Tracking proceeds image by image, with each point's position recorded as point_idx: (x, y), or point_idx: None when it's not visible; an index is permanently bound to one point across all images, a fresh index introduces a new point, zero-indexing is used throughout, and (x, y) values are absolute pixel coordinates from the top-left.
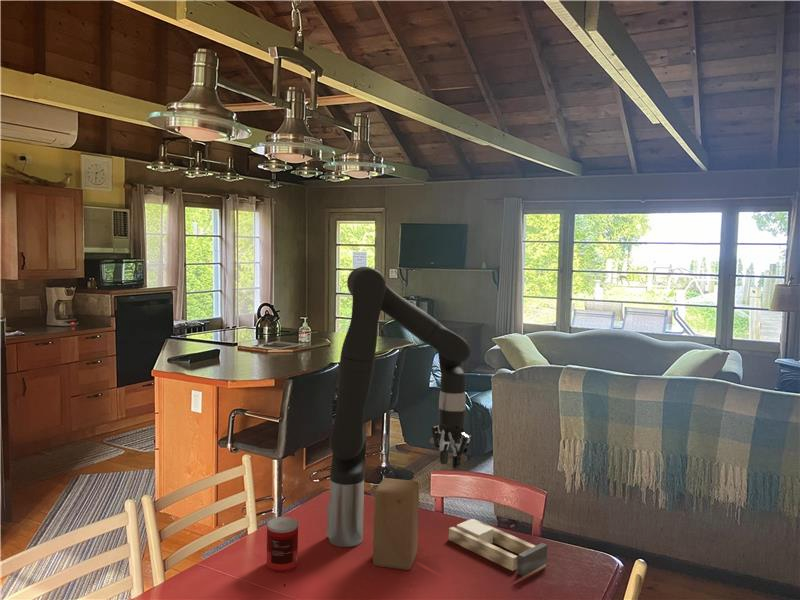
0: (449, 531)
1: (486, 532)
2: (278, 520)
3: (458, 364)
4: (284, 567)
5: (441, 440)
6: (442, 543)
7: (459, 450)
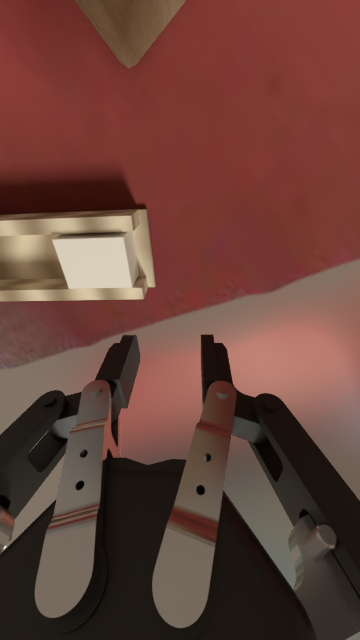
0: (131, 214)
1: (62, 266)
2: None
3: None
4: None
5: (211, 455)
6: (142, 192)
7: (42, 421)
